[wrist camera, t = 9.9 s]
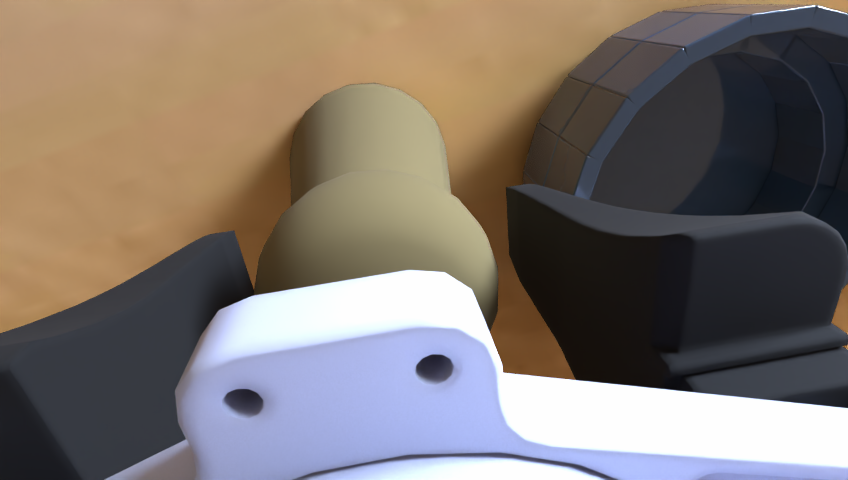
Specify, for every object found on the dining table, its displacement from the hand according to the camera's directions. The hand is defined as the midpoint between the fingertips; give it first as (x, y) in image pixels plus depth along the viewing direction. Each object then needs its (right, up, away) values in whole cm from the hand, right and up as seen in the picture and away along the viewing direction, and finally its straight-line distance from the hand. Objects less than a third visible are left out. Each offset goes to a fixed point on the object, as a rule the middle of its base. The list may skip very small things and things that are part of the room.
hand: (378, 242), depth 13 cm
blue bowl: (+11, +3, +8) cm, 14 cm away
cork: (-1, +3, +6) cm, 7 cm away
